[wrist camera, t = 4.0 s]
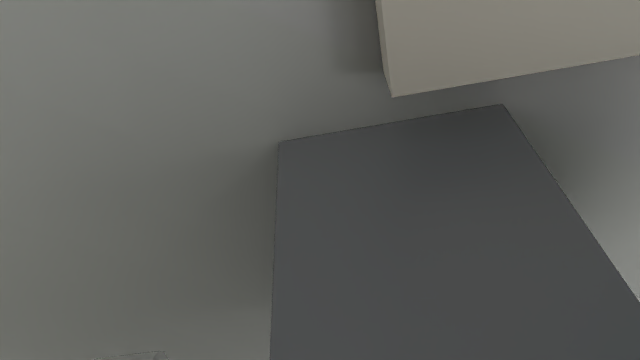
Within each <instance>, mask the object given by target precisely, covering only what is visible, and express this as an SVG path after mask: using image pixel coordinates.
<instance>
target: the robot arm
mask: <svg viewBox="0 0 640 360" xmlns="http://www.w3.org/2000/svg"><path fill="white" fill-rule="evenodd" d="M92 360H169V359H168V357H167V356H166V354H165V352H164V351H154V352H146V353H138V354H129V355H121V356H113V357H105V358H96V359H92Z"/></svg>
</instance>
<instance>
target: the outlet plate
mask: <svg viewBox="0 0 640 360" xmlns="http://www.w3.org/2000/svg"><path fill="white" fill-rule="evenodd" d="M375 4H376V12H377V21H378V29H379V38H380V46H381V55H382V63H383V72H384V75H385V78H386V81H387V84H388V87H389V90H390V93H391V96H392V98H393V97H399V96H405V95H411V94H417V93H423V92H428V91H434V90H440V89H446V88H452V87H458V86H463V85H469V84H475V83H481V82H487V81H493V80H498V79H504V78H510V77H516V76H522V75H527V74H533V73H539V72H545V71H551V70H557V69H562V68H568V67H574V66H580V65H586V64H592V63H597V62H603V61H609V60H615V59H621V58H627V57H632V56H638V55H640V0H375Z"/></svg>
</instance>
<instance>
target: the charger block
mask: <svg viewBox="0 0 640 360" xmlns="http://www.w3.org/2000/svg"><path fill="white" fill-rule="evenodd" d="M270 360H640V303H639V301H638V300H637V298H636V297H635V295H634V294H633V293H632V291H631V290H630V288H629V287H628V285H627V284H626V282H625V281H624V280H623V278H622V277H621V275H620V274H619V272H618V271H617V269H616V268H615V266H614V265H613V264H612V262H611V261H610V259H609V258H608V256H607V255H606V253H605V252H604V251H603V249H602V248H601V246H600V245H599V243H598V242H597V240H596V239H595V237H594V236H593V235H592V233H591V232H590V230H589V229H588V227H587V226H586V224H585V223H584V221H583V220H582V219H581V217H580V216H579V214H578V213H577V211H576V210H575V208H574V207H573V206H572V204H571V203H570V201H569V200H568V198H567V197H566V195H565V194H564V192H563V191H562V190H561V188H560V187H559V185H558V184H557V182H556V181H555V179H554V178H553V177H552V175H551V174H550V172H549V171H548V169H547V168H546V166H545V165H544V163H543V162H542V161H541V159H540V158H539V156H538V155H537V153H536V152H535V150H534V149H533V148H532V146H531V145H530V143H529V142H528V140H527V139H526V137H525V136H524V134H523V133H522V132H521V130H520V129H519V127H518V126H517V124H516V123H515V121H514V120H513V118H512V117H511V116H510V114H509V113H508V111H507V110H506V108H505V107H504V105H503V104H500V105H494V106H488V107H482V108H476V109H470V110H464V111H458V112H452V113H446V114H441V115H435V116H429V117H423V118H417V119H411V120H405V121H399V122H393V123H387V124H381V125H376V126H370V127H364V128H358V129H352V130H346V131H340V132H334V133H328V134H322V135H316V136H311V137H305V138H299V139H293V140H287V141H281V142H279V150H278V173H277V197H276V221H275V245H274V268H273V292H272V316H271V339H270Z"/></svg>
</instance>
